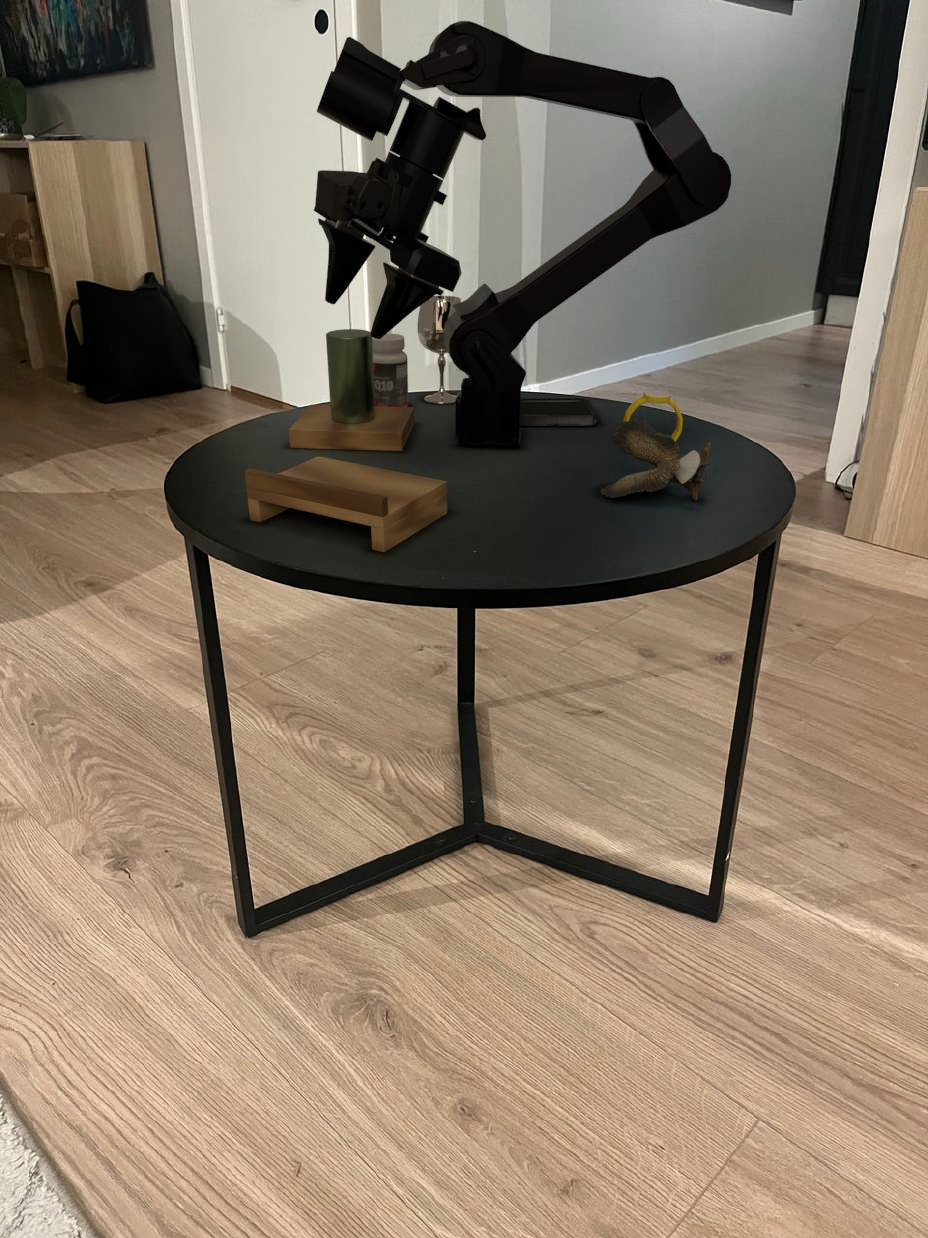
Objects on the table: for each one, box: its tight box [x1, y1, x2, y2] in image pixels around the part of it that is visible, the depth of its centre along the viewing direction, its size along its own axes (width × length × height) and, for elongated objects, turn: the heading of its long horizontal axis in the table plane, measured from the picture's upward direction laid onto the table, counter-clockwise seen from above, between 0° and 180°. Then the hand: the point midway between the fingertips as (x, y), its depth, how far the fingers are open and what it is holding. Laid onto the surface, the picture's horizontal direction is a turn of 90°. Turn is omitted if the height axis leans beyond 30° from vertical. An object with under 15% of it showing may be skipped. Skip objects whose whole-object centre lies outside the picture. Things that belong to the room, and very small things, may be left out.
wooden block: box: [288, 404, 415, 452], centre depth 104 cm, size 12×10×2 cm
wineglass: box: [417, 295, 462, 405], centre depth 116 cm, size 6×6×12 cm
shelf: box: [244, 455, 448, 553], centre depth 82 cm, size 10×14×4 cm
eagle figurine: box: [599, 419, 712, 502], centre depth 87 cm, size 8×7×9 cm
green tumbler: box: [325, 328, 375, 424], centre depth 102 cm, size 5×5×9 cm
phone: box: [520, 397, 598, 427], centre depth 111 cm, size 8×1×15 cm
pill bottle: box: [372, 333, 409, 407], centre depth 113 cm, size 5×5×8 cm
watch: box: [622, 390, 684, 443], centre depth 99 cm, size 6×3×6 cm, turn 89°
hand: (351, 319), depth 96 cm, fingers open, 9 cm apart
